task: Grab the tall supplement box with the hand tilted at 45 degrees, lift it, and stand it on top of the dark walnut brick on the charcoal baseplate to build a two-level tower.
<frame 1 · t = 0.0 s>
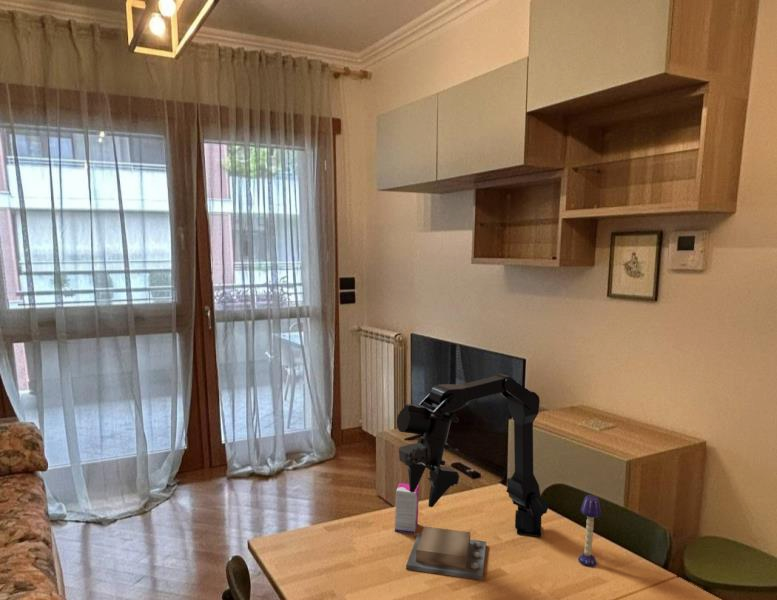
hand: (420, 499, 132), 15 cm above the table, tool pointing down, fingers open, 9 cm apart
toy lamp: (588, 563, 132), on the table
supplement box: (406, 528, 149), on the table
walnut brick base: (443, 556, 135), on the table
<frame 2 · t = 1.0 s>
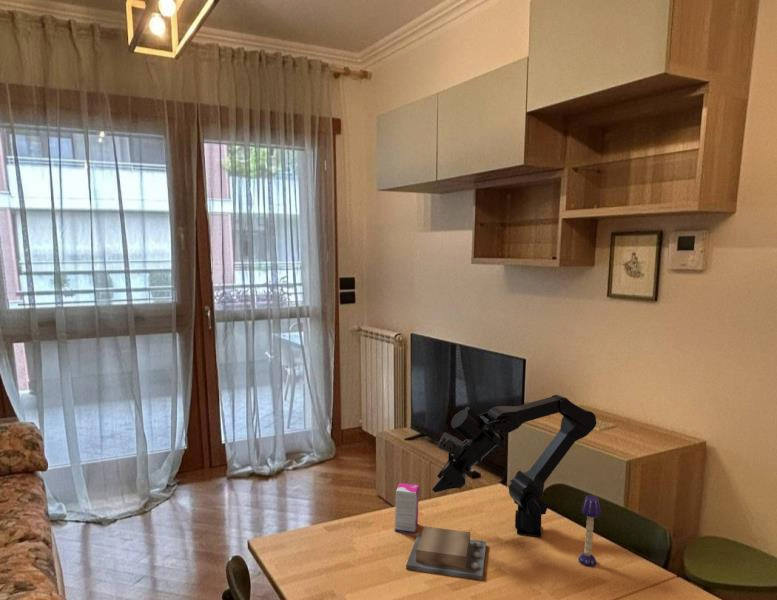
hand: (436, 483, 146), 13 cm above the table, tool tilted 45°, fingers open, 9 cm apart
nothing on the table moved.
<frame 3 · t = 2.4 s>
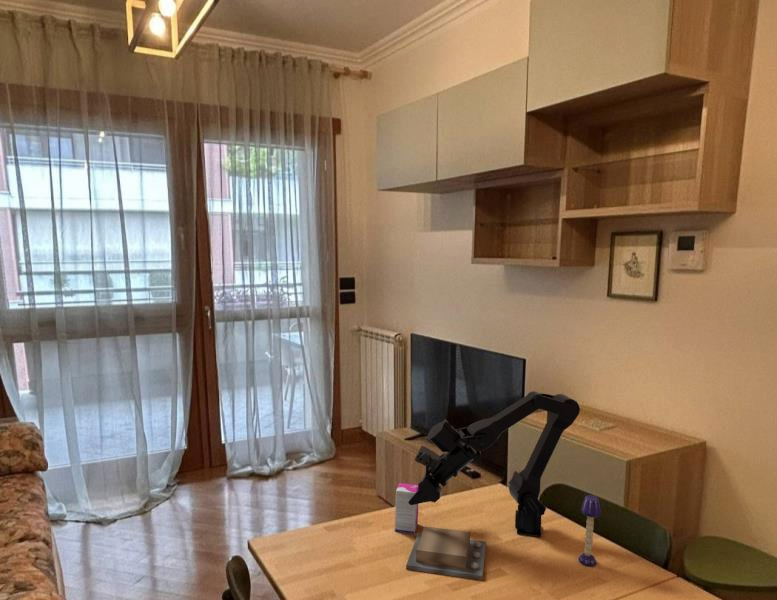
hand: (412, 496, 148), 9 cm above the table, tool tilted 45°, fingers open, 9 cm apart
nothing on the table moved.
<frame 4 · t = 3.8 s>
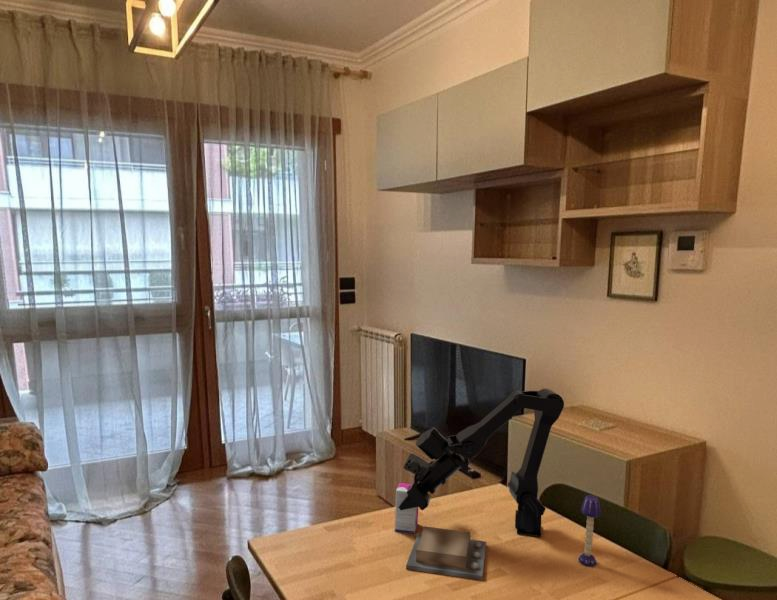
hand: (402, 503, 149), 7 cm above the table, tool tilted 45°, fingers closed on supplement box, 6 cm apart
supplement box: (406, 528, 149), on the table, touching gripper
everything else where it was.
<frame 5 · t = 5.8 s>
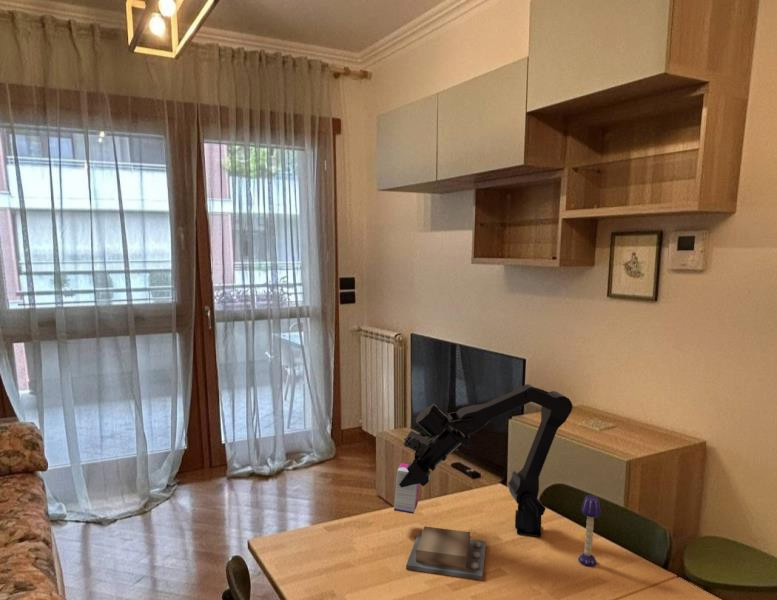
hand: (402, 481, 148), 13 cm above the table, tool tilted 45°, fingers closed on supplement box, 6 cm apart
supplement box: (406, 508, 149), point 5 cm above the table, touching gripper
everything else where it was.
when the fingers open (12 cm above the table, at t = 8.2 s): supplement box stays where it is, resting on walnut brick base.
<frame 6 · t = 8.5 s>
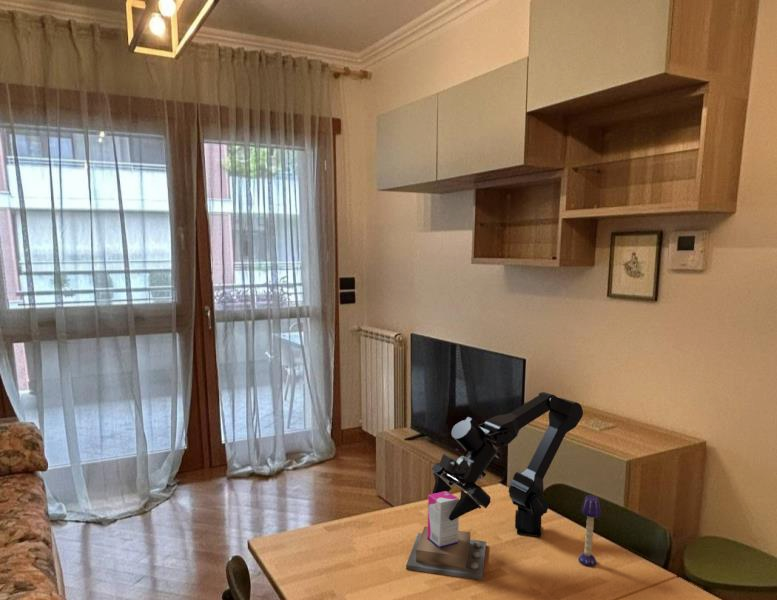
hand: (439, 512, 133), 12 cm above the table, tool tilted 45°, fingers open, 8 cm apart
supplement box: (442, 541, 134), point 4 cm above the table, touching walnut brick base
everything else where it was.
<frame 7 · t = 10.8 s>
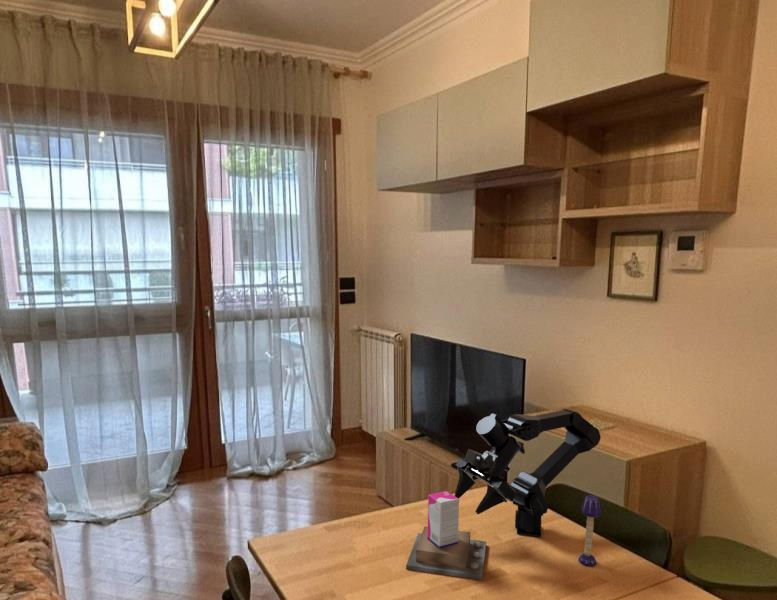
hand: (465, 505, 137), 12 cm above the table, tool tilted 45°, fingers open, 9 cm apart
nothing on the table moved.
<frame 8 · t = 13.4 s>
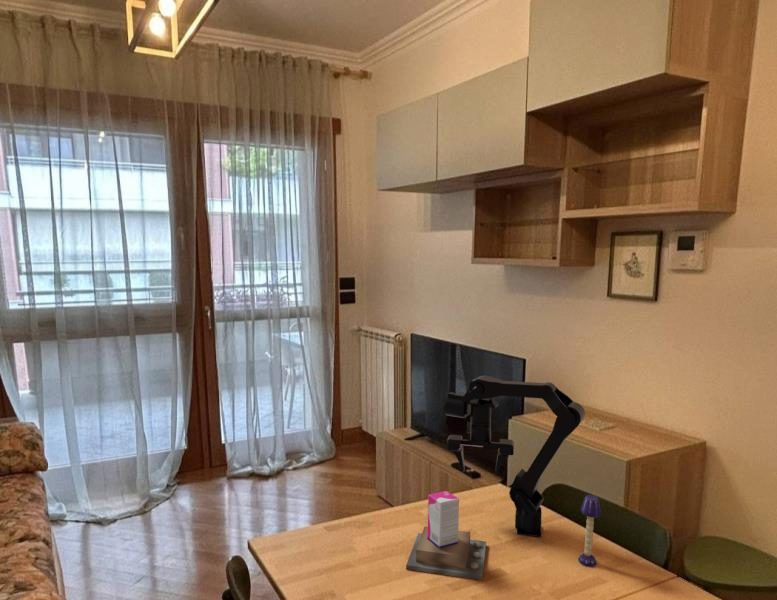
hand: (479, 473, 154), 13 cm above the table, tool pointing down, fingers open, 9 cm apart
nothing on the table moved.
at the end: supplement box 0.4 cm from the walnut brick base (horizontally); supplement box point 3.8 cm above the table; supplement box tilted 0° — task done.
